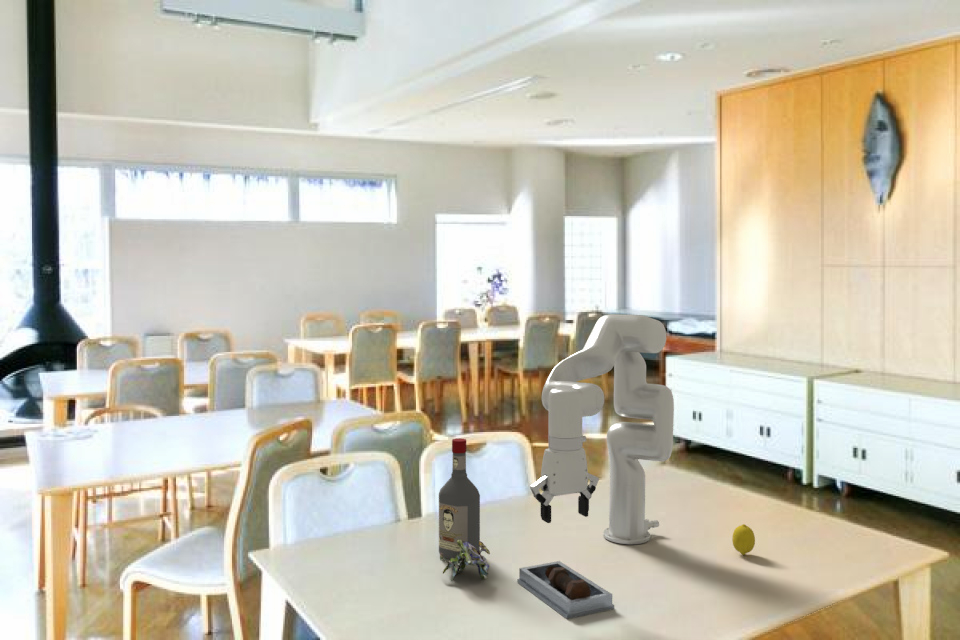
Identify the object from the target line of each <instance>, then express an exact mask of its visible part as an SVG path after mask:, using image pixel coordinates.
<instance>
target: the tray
mask: <svg viewBox="0 0 960 640" xmlns="http://www.w3.org/2000/svg"><path fill="white" fill-rule="evenodd" d="M550 566H555V567H563V568H565V569H566V571H567V572H568V574H569V576H570V577H571V578H572V579H573V580H581V579H583V580H585V581H586V583H587V584H588V586H589V587H590V589H591V595H590V596H589V597H584V598H580V599H575V600H570V599H569V598H567V596H566V594H565V591H564V590H562V589H555V588H554V587H553V586H552V584H551V583H550V581H549V579H548V578H547V577H546V575H545V571H546V570H548V569H547V568H548V567H550ZM518 574H519V578H517V580H516V581H517V582H518V583H517V584H519V585H520V586H522V587H523V588H524V589H525V590H527V591H528V592H530V593H531V594H533V596H535V597H537V598H538V599H539V600H540V601H541V602H543V603H544V604H546V605H547V606H549V607H550V608H551V609H553V610H554V611H555V612H557V613H558V614H559V615H561V616H562V617H563V618H565V619H566V620H568V619H573V618H574V619H575V618H578V617H583V616H588V615H592V614H597V613H601V611H602V612H606V611H610V609H611V610H615V604H614V603H613V593H611V592H610V591H608V590H607V589H605V588H603V587H601V586H600V585H598V584H597V583H595V582H594V581H592V580H590V579H589V578H587V577H586V576H584V575H582V574H580V572H578V571H576V570H574V569H573V568H571V567H570V566H568V565H566V564H565V563H563V562H561V561H560V560H559V561H558V560H557V561H552V562H547V563H541V564H536V565H530V566H525V567H519V573H518Z"/></svg>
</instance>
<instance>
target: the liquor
mask: <svg viewBox="0 0 960 640" xmlns="http://www.w3.org/2000/svg"><path fill="white" fill-rule="evenodd" d="M451 452H452V471H451V475H450V476H451V477H449V479H448V480H447V481H446V483H444V485H443V486H442V487H441V488H440V490H439V491H438V553H439V554H440V553H442V554H443V556H442V557H443V558H445V559H446V560H447V561H450V559H451V558H454V559H455V558H456V556H457V555H458V554H459V555H460V552H461V548H460V547H459V545H458V544H457V541H458V540H461V541H462V543H463V544H464V543H465V541H466V542H467V543H468V542H469V544H471V545H472V546H473V545H474V547H475V548H476V550H477V551H480V550H481V547H480V544H479V542H480V541H481V539H480V537H481V534H480V533H481V525H480V523H481V520H480V519H481V513H480V512H481V502H480V501H481V495H480V492H479V488H478V487H476V485H475V484H474V483H473V482H472V481H471V480H470V479H469V477H468V473H467V439H466V438H459V437H458V438H452V440H451ZM443 558H442V560H444V559H443ZM446 560H445V561H446Z"/></svg>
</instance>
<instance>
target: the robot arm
mask: <svg viewBox="0 0 960 640" xmlns="http://www.w3.org/2000/svg"><path fill="white" fill-rule="evenodd" d="M666 342H667V331H666V328H665V326H664V324H663V322H661V321H660V320H658V319H654V318H652V317H649V316H646V315H640V314H639V315H638V314H620V313H619V314H618V313H611V314H604V315H602V316H601V317H600V318H598V319H597V320H596V323H595V325H594V326H593V328H592V330H591V331H590V334H589V335H588V338H587V340H586V342H585V343H584V346H583V348H582V349H581V350H578V351H577V352H575V353H573V354H571V355H569V356H568V357H566V358H565V359H562V360H561V361H560V362H559V363H557V364H555V366H553V369H552V370H551V372H550V373H549V375H548V376H547V379H546V381H545V383H544V385H543V388H542V392H541V404H542V406H543V408H545V410H546V411H548V424H547V425H548V427H547V428H548V432H547V433H548V437H547V438H548V445H547V446H548V447H547V448H545V449H544V451H543V456H542V463H541V469H540V471H541V472H540V478H539V479H537V481H535V482H533V483H532V484H530V486H529V488H530V489H529V490H530V491H531V493H532V495H533V498H535V500H537V502H538V503H539V504H540V518H541V520H542V521H543V522H545V523H546V524H551V522H552V505H551V504H550V503H551V502H552V500H553V498H554V497H559V496H566V495H567V496H568V495H573V494H579V496H578V498H577V499H578V500H577V503H578V504H577V505H578V506H577V507H578V509H577V511H578V514H579V515H581V516H583V517H586V518H587V517H589V511H590V499H591V498H592V495H593V493H594V492H595V491H596V487H597V486H598V483H599V480H600V478H599V477H598V476H596V475H594V474H591V473H590V472H589V471H588V470H589V469H588V462H587V456H586V450H585V448H584V447H583V443H584V442H585V443H586V442H587V436H586V435H583V418H584V417H593V416H595V415H597V414H599V412H601V411H602V409H603V408H604V405H605V394H604V391H603V389H602V388H601V387H600V386H599V385H598V384H594V383H591V382H590V383H589V382H580V381H583V380H587V379H592V378H596V377H599V376H602V375H605V374H607V373H608V372H610V371H611V370H612V369H613V371H614V372H613V408H614V412H615V413H616V414H617V415H618V416H619V417H620V416H621V417H623V418H624V417H625V418H629V419H631V418H632V419H642V420H651V421H652V423H653V424H649V423H641V422H631V421H630V422H629V421H619V422H615V423H613V424H612V425H611V426H610V427H609V428H608V430H607V432H606V445H607V451H608V458H609V509H608V510H609V511H608V512H609V515H608V516H609V518H608V519H609V520H608V521H609V524H608V527H607V528H605V529H604V530H603V532H602V533H603V537H604V539H606V540H607V541H610V542H612V543H615V544H619V545H620V544H621V545H639V544H644V543H645V544H646V542H649V541H650V540H651V533H650V532H649V530H651V528H652V529H653V528H659V526H660V523H659V522H660V521H659V520H657V519H654V520H650V519H648V518H647V519H646V514H645V513H646V473H645V470H644V468H643V466H642V464H641V462H640V460H643V461H652V462H665V461H667V460H669V459H670V458H671V456H672V453H673V447H674V415H675V414H674V413H675V412H674V411H675V402H674V395H673V392H672V390H671V389H670V388H669V386H666V385H664V384H657V383H648V382H647V364H646V361H645V359H644V357H643V356H642V354H641V353H645V354H658V353H660V352H661V351H662V350H663V349H664V348H665V345H666ZM540 490H541V491H542V493H541V492H540Z"/></svg>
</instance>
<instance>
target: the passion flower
mask: <svg viewBox="0 0 960 640" xmlns="http://www.w3.org/2000/svg"><path fill="white" fill-rule="evenodd" d="M457 544H458V545H459V547H460V548H461V552H460V555H459V554H458V555H457V556H456V558H455V559H454V558H451V559H450V560H446V559H445V558H443V557H442V556H443V554H442V553H439V559H440V561H442V560H444V561H446V562H447V565H446V567H445V568H444V569H443V571H442V575H444V574H445V573H446V572H447V571H448V570H449V569H450V568H452V576H451V579H450V582H452V581H453V579H454V578H455V577H456V576H458V574H459V573H460V571H463V570H465V568H466V566H468V565H469V566H475V565H476V567H477V571H478V575H479V576H480V578H481V580H484V581H486V580H487V575H489V572H487V571H488V569H489V567H490V566H489V563H487V561H486V557H485V556H484V555H482V552H485V553H487V554H488V555H490V554H491V553H490V549H489V548H487V545H485V544H484V543H483V542H482V541H481V540H480V542H479V544H480V551H477V550H476V548H475V547H474V545H473V546H472V545H471V544H469V542H468V543H467V542H466V541H465V543H464V544H463V543H462V541H461V540H458V541H457ZM442 558H443V559H442Z"/></svg>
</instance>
